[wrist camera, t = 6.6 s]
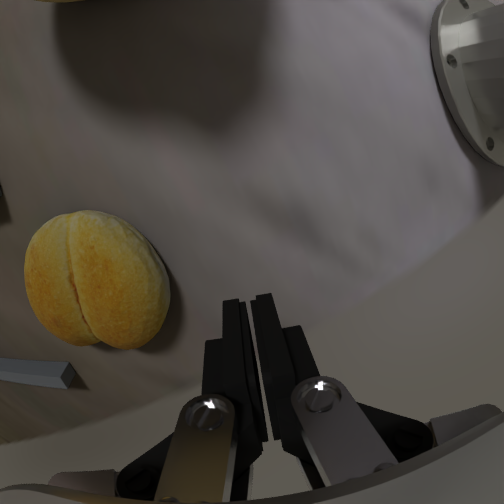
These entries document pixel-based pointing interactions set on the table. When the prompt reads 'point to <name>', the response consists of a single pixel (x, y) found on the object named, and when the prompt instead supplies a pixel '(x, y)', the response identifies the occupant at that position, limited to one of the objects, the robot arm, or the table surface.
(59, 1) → the pale yellow rounded lump
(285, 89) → the table surface
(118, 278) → the bread roll
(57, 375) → the bay
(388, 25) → the table surface
